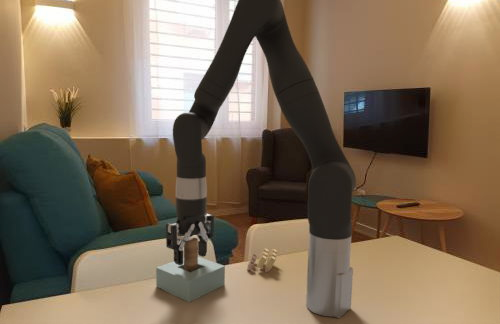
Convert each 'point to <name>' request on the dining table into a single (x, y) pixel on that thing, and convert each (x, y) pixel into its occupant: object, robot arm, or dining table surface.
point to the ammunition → (263, 259)
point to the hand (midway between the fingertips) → (190, 259)
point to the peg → (191, 255)
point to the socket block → (190, 279)
